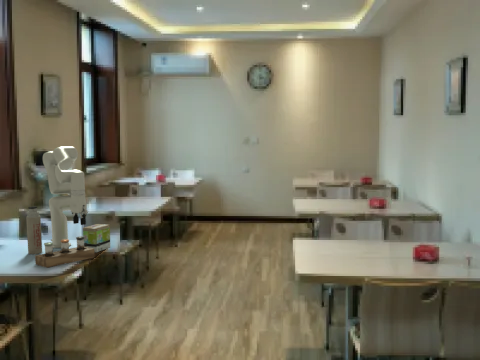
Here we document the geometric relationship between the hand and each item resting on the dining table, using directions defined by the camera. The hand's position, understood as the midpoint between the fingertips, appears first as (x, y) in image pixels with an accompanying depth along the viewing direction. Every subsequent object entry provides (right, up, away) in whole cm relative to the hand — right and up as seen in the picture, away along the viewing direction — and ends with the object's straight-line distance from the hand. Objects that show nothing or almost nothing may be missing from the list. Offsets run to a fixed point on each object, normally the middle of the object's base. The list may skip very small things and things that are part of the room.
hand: (79, 223), depth 323 cm
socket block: (-6, -20, -6) cm, 22 cm away
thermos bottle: (-31, -19, +16) cm, 40 cm away
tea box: (+5, -18, +22) cm, 29 cm away
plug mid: (-6, -16, -6) cm, 18 cm away
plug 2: (0, -15, +1) cm, 15 cm away
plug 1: (-13, -17, -14) cm, 25 cm away
